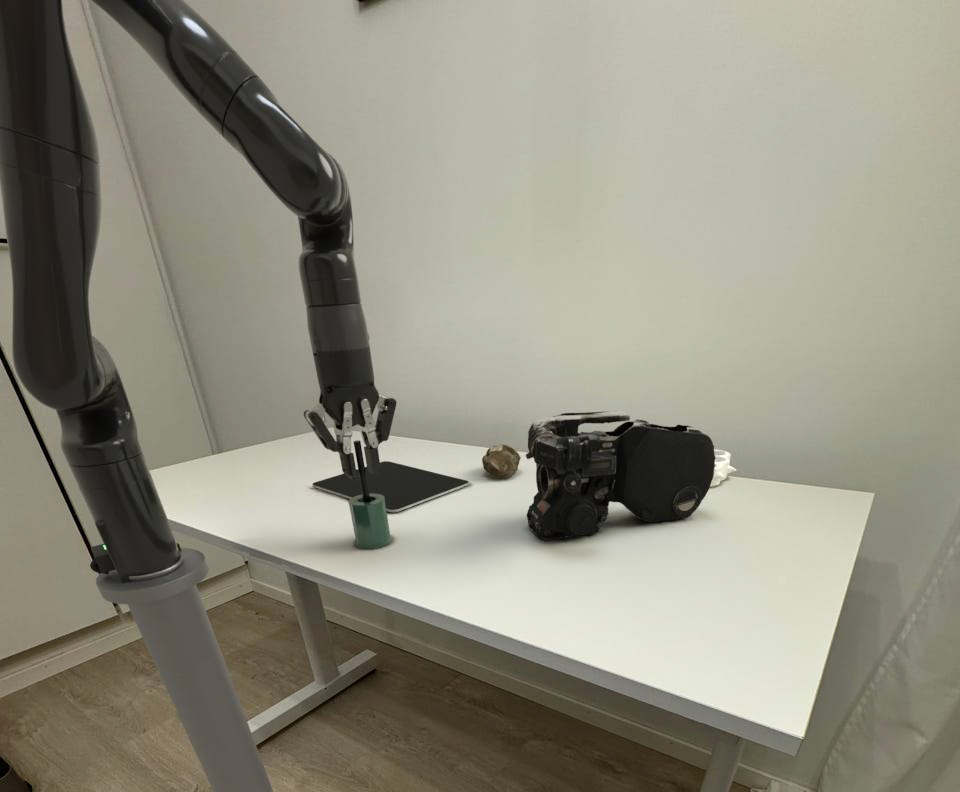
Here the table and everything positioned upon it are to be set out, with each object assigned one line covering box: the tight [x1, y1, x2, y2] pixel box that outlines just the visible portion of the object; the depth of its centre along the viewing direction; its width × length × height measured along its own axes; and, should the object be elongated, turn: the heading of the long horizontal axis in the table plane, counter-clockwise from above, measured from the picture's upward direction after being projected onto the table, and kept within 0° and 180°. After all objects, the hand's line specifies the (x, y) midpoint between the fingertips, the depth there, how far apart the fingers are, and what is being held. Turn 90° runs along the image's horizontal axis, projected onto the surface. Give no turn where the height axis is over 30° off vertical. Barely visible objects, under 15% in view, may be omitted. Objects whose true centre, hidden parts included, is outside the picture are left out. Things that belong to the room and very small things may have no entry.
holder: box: [348, 494, 392, 550], centre depth 86 cm, size 5×6×7 cm
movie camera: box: [525, 410, 716, 541], centre depth 84 cm, size 31×18×18 cm, turn 100°
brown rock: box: [481, 443, 521, 478], centre depth 114 cm, size 8×7×10 cm
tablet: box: [312, 460, 469, 513], centre depth 112 cm, size 27×1×20 cm
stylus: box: [353, 440, 370, 503], centre depth 84 cm, size 1×1×15 cm
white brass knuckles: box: [710, 449, 737, 488], centre depth 106 cm, size 3×18×15 cm
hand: (362, 474), depth 82 cm, fingers open, 3 cm apart
